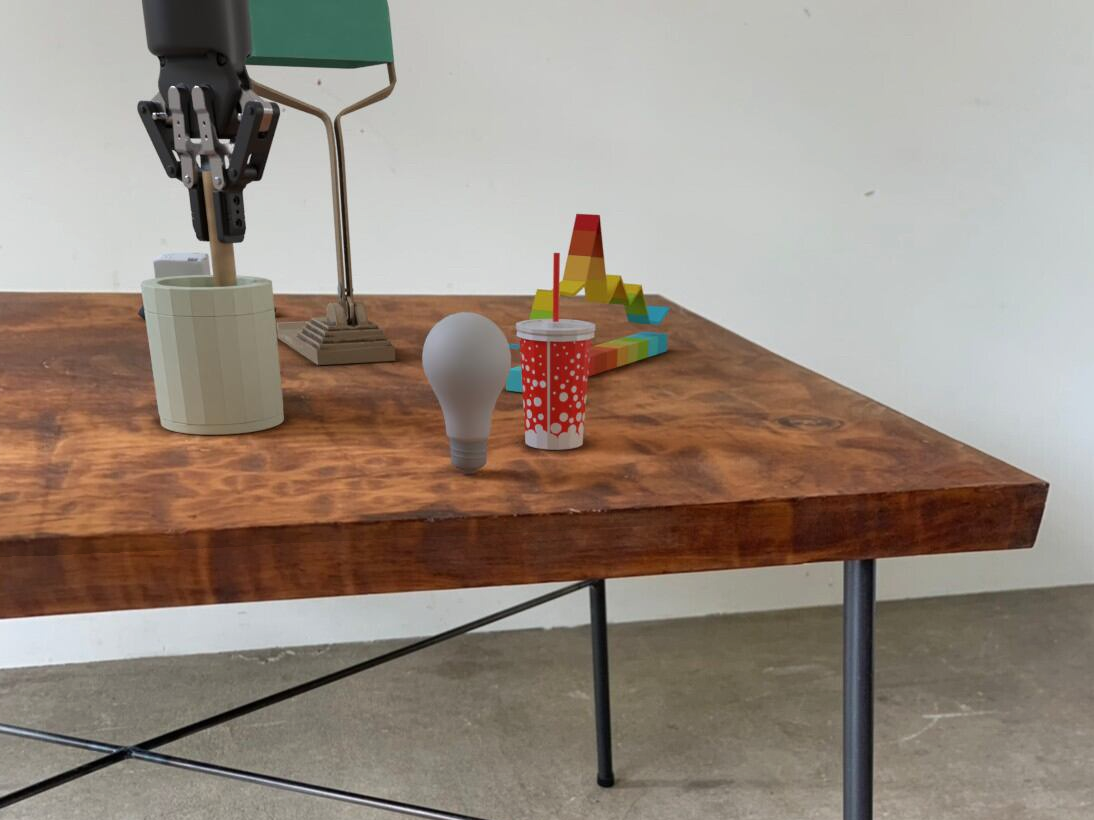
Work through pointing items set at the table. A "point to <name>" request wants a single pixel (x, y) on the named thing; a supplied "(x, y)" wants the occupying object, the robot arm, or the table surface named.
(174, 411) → the jar
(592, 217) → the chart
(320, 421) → the table surface
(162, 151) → the robot arm
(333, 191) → the banker's lamp
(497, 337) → the lightbulb
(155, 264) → the cosmetic box
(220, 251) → the brush
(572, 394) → the beverage cup
